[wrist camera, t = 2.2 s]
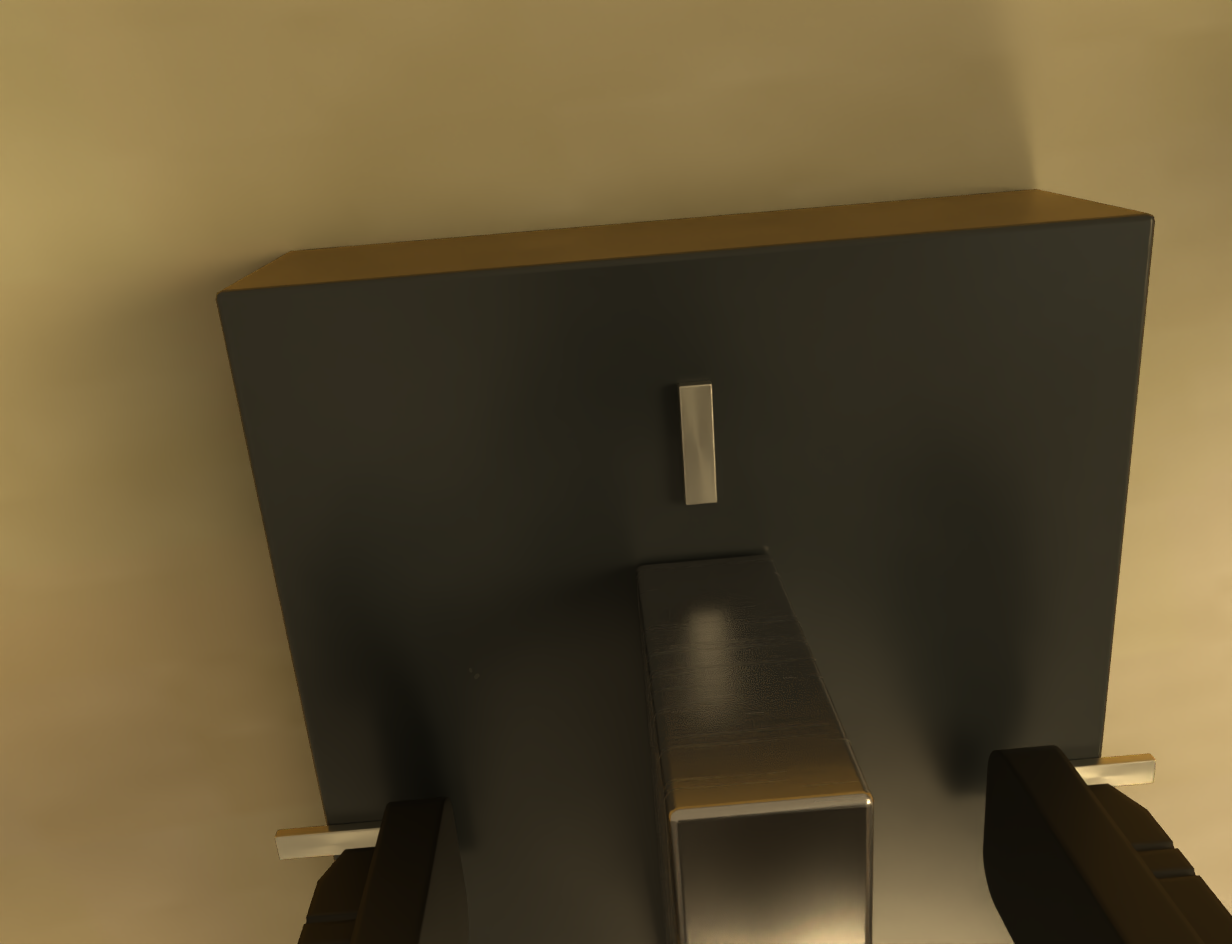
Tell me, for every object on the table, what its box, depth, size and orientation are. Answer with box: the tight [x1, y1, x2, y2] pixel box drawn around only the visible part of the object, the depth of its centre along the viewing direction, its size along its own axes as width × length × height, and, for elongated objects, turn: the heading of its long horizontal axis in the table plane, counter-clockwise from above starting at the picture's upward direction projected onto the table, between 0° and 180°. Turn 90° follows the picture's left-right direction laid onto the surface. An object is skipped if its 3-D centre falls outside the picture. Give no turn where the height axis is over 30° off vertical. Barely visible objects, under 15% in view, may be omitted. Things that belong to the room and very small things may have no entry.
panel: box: [216, 189, 1156, 944], centre depth 15 cm, size 14×11×3 cm
